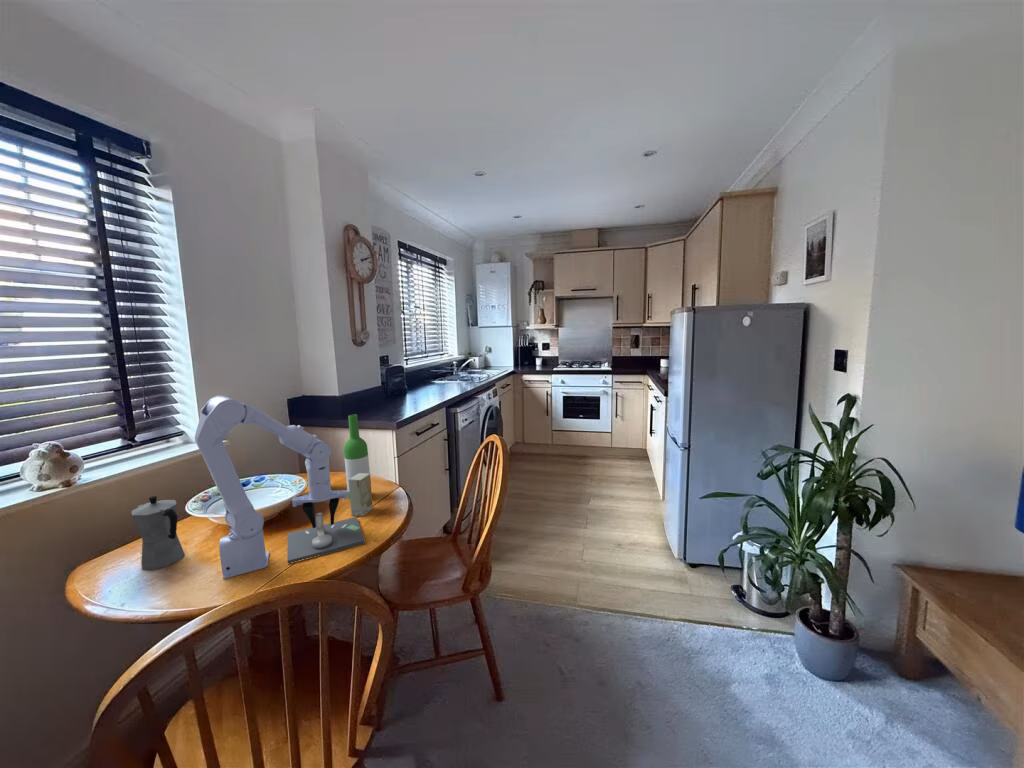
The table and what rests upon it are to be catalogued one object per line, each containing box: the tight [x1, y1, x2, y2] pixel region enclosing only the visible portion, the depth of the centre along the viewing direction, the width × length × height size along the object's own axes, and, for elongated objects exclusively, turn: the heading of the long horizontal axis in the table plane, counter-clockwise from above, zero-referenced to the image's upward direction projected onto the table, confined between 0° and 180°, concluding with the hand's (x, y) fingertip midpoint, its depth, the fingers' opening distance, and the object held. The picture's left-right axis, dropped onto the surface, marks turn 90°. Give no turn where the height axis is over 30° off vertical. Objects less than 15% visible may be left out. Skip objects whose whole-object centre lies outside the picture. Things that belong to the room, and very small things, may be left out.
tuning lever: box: [312, 512, 332, 548], centre depth 115 cm, size 14×5×5 cm, turn 30°
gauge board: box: [286, 516, 366, 564], centre depth 115 cm, size 19×16×1 cm
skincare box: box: [349, 473, 374, 517], centre depth 132 cm, size 6×4×12 cm
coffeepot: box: [131, 495, 185, 571], centre depth 106 cm, size 15×9×18 cm, turn 67°
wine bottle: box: [343, 413, 371, 500], centre depth 141 cm, size 8×8×30 cm
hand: (323, 524), depth 118 cm, fingers open, 4 cm apart
